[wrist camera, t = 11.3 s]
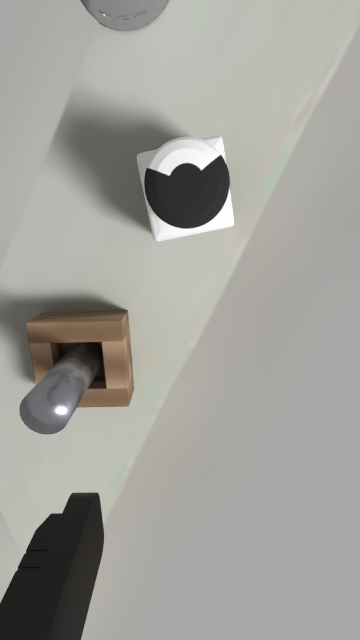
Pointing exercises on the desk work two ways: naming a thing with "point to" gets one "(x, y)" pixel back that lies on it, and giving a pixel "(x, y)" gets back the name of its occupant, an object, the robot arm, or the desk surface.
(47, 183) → the desk surface
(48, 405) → the peg
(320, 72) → the desk surface
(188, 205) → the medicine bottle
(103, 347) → the bore block
